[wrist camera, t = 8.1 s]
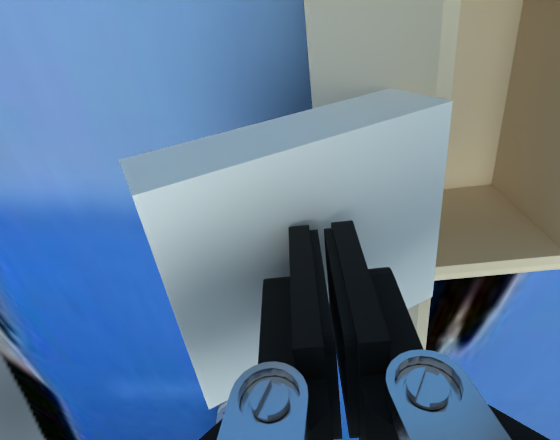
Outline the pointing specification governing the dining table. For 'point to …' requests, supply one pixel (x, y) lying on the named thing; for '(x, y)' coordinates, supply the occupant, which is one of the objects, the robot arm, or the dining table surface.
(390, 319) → the robot arm
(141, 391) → the dining table surface
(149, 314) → the dining table surface
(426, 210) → the top flap
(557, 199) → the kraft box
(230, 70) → the dining table surface
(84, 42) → the dining table surface
